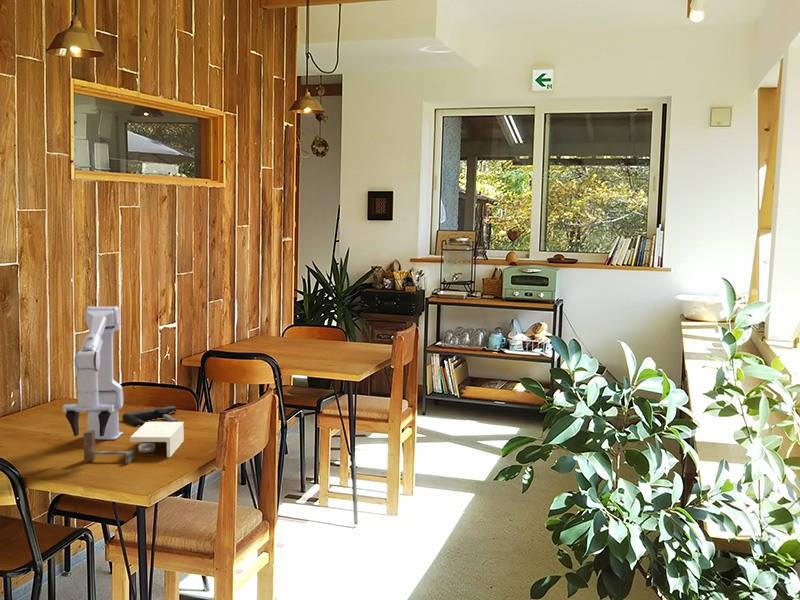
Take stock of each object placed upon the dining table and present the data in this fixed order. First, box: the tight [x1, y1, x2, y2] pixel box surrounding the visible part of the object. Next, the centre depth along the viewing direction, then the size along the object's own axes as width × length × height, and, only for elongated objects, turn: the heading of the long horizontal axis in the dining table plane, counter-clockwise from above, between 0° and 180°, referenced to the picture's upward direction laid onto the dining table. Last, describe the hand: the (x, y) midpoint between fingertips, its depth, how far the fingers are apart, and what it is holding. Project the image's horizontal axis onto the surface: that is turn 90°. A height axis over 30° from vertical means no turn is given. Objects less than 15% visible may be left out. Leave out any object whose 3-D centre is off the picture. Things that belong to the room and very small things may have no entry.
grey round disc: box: [138, 442, 156, 454], centre depth 263 cm, size 5×5×2 cm
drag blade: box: [83, 429, 136, 465], centre depth 251 cm, size 14×6×9 cm, turn 91°
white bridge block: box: [129, 421, 185, 458], centre depth 265 cm, size 12×18×6 cm, turn 1°
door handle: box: [121, 405, 178, 427], centre depth 300 cm, size 3×20×16 cm
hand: (89, 435), depth 251 cm, fingers open, 7 cm apart
